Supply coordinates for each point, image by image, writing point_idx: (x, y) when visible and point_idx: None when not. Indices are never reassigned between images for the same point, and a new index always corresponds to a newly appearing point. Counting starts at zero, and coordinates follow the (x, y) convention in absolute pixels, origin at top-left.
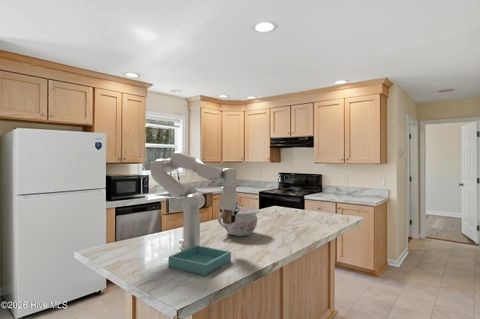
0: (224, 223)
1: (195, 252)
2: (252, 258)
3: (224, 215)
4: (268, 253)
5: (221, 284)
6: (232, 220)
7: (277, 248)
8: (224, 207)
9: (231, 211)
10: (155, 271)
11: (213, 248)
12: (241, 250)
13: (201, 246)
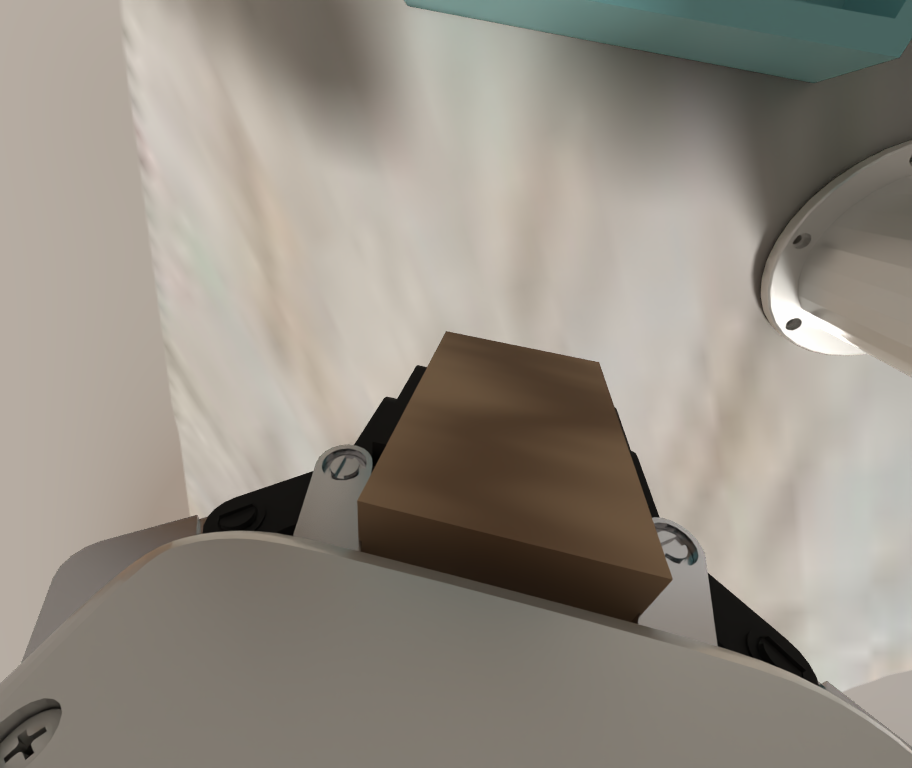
0: (562, 356)
1: (853, 6)
2: (294, 182)
3: (583, 451)
4: (262, 323)
5: None
6: (406, 389)
7: (267, 416)
8: (650, 748)
9: (376, 555)
10: None
11: (622, 5)
12: (432, 331)
13: (814, 22)
